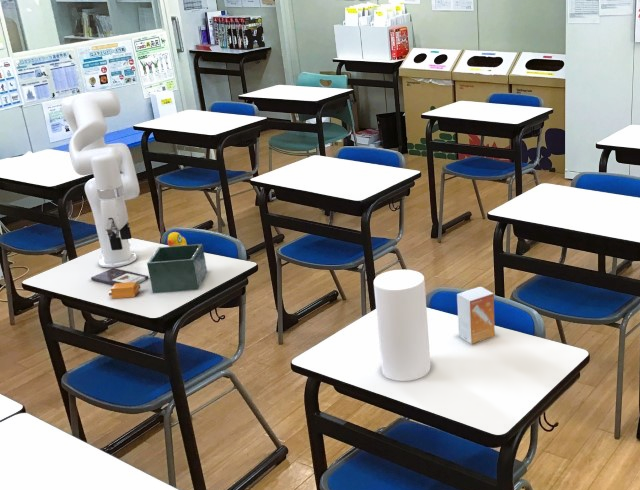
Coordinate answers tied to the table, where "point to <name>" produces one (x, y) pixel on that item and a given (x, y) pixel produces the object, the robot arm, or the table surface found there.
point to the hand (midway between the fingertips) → (122, 244)
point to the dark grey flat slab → (118, 277)
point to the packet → (124, 290)
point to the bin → (177, 268)
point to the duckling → (176, 239)
